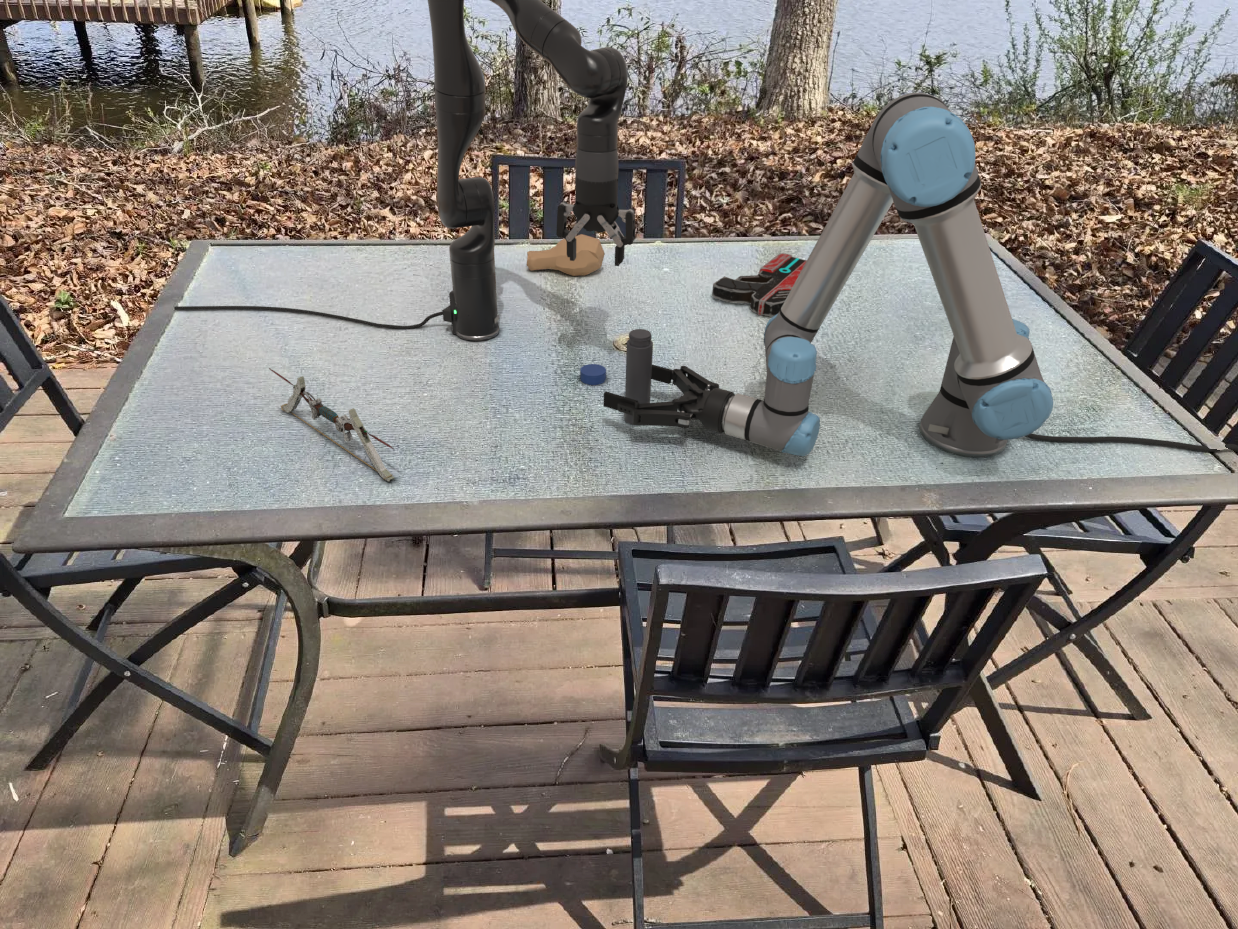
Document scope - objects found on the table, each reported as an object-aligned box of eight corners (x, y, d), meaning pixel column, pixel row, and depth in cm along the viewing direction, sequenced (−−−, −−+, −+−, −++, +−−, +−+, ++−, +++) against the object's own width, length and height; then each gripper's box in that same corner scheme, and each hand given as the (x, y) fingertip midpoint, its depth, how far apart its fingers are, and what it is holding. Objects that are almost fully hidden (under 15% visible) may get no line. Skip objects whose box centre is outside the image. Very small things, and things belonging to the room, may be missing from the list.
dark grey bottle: (639, 410, 166) (643, 325, 157) (654, 421, 163) (658, 335, 153) (619, 416, 164) (621, 331, 154) (633, 427, 161) (637, 341, 151)
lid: (592, 387, 173) (592, 378, 172) (574, 378, 176) (574, 369, 175) (611, 379, 176) (611, 370, 175) (593, 370, 179) (593, 361, 178)
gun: (708, 284, 207) (784, 305, 199) (760, 245, 229) (831, 262, 221) (706, 302, 209) (781, 323, 201) (758, 261, 231) (828, 278, 223)
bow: (404, 484, 144) (397, 432, 138) (395, 489, 143) (388, 437, 137) (282, 401, 165) (271, 354, 160) (273, 405, 164) (262, 357, 158)
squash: (606, 279, 220) (601, 247, 214) (527, 286, 222) (521, 255, 215) (606, 257, 228) (602, 226, 222) (531, 264, 229) (524, 233, 223)
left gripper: (551, 175, 152) (552, 265, 161) (632, 183, 149) (628, 273, 158) (563, 164, 158) (563, 250, 167) (640, 171, 155) (636, 259, 165)
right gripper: (698, 465, 146) (588, 431, 154) (753, 401, 164) (652, 374, 172) (702, 426, 142) (588, 393, 150) (757, 366, 160) (654, 339, 168)
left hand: (595, 261), depth 163 cm, fingers open, 8 cm apart
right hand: (622, 383), depth 161 cm, fingers open, 13 cm apart
